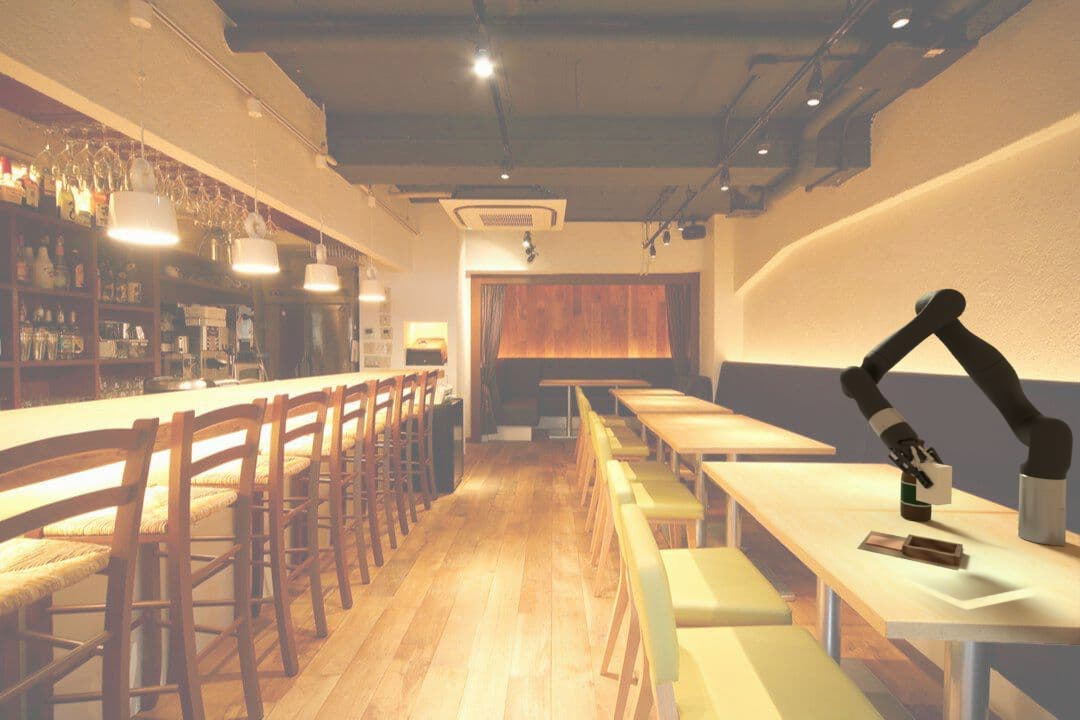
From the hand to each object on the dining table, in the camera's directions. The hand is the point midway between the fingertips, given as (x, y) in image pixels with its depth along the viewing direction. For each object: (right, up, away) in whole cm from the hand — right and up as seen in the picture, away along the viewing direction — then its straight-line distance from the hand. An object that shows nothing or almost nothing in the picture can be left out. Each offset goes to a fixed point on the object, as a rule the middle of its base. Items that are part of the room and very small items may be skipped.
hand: (938, 485), depth 132 cm
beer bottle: (+17, -18, +33) cm, 42 cm away
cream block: (0, -4, +1) cm, 4 cm away
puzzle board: (-4, -18, +4) cm, 19 cm away
